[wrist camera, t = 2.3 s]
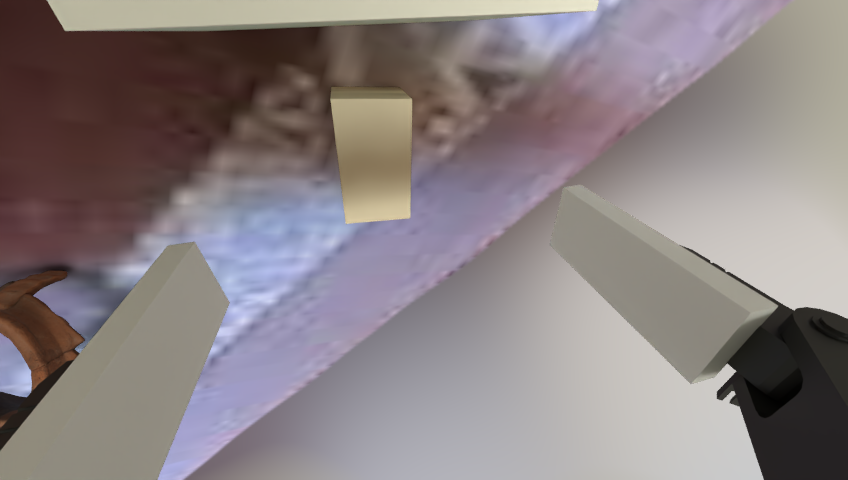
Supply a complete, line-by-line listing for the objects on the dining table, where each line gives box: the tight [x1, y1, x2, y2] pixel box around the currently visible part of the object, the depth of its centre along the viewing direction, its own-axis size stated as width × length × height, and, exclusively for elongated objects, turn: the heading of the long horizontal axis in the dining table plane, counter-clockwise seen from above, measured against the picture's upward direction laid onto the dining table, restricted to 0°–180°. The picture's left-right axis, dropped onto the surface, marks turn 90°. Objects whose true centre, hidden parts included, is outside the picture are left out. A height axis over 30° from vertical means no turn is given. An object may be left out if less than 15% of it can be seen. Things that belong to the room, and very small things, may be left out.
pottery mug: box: [0, 271, 85, 428], centre depth 20 cm, size 12×10×8 cm
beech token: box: [330, 87, 412, 224], centre depth 18 cm, size 7×4×4 cm, turn 178°
